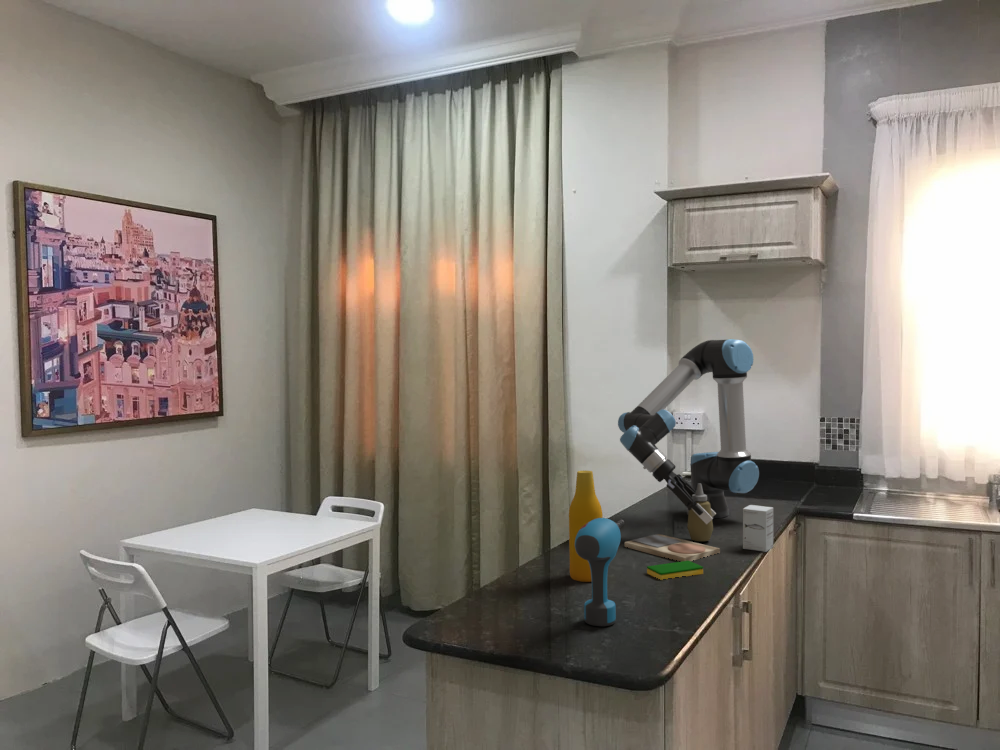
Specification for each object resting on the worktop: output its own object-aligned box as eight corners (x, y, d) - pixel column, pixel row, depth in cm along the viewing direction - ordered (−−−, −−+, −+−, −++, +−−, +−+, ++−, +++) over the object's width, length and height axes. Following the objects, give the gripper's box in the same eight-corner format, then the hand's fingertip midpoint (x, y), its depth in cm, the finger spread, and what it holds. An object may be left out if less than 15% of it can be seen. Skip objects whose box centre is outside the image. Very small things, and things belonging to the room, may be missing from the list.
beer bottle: (610, 578, 207) (609, 472, 206) (583, 584, 202) (581, 475, 201) (589, 570, 215) (587, 467, 214) (562, 576, 210) (560, 471, 209)
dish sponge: (646, 574, 211) (646, 566, 211) (688, 568, 216) (688, 560, 216) (660, 582, 204) (660, 573, 204) (703, 575, 209) (703, 566, 209)
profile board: (659, 538, 249) (659, 533, 249) (719, 553, 230) (719, 547, 229) (624, 546, 239) (624, 541, 239) (684, 562, 220) (684, 556, 220)
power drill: (606, 595, 192) (605, 503, 192) (640, 599, 189) (639, 506, 188) (567, 633, 167) (565, 528, 166) (605, 639, 163) (603, 531, 163)
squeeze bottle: (714, 537, 247) (713, 482, 246) (712, 543, 239) (711, 486, 238) (688, 535, 249) (687, 481, 249) (686, 542, 242) (685, 485, 241)
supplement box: (742, 549, 234) (741, 508, 233) (750, 544, 240) (750, 504, 239) (766, 552, 229) (766, 511, 229) (774, 547, 235) (773, 506, 235)
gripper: (657, 469, 259) (707, 520, 253) (644, 478, 241) (698, 533, 235) (673, 454, 256) (724, 505, 250) (661, 462, 238) (715, 517, 232)
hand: (711, 518), depth 243 cm, fingers closed on squeeze bottle, 6 cm apart
